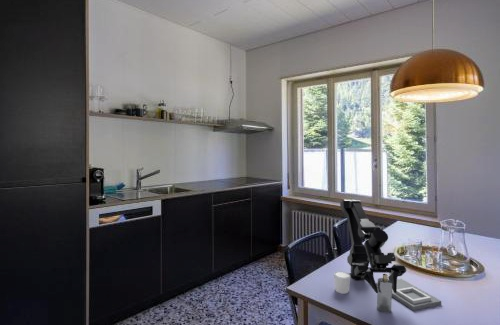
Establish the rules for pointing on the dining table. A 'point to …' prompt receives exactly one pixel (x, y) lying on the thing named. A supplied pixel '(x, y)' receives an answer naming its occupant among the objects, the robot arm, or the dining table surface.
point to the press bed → (413, 296)
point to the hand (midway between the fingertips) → (386, 292)
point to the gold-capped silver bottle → (384, 294)
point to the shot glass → (342, 282)
